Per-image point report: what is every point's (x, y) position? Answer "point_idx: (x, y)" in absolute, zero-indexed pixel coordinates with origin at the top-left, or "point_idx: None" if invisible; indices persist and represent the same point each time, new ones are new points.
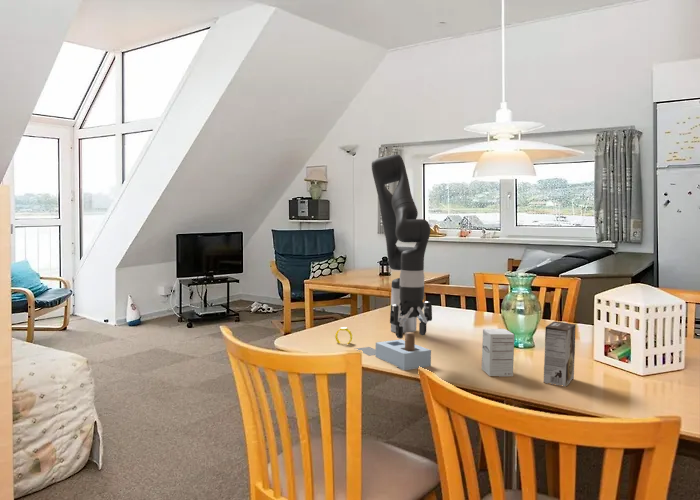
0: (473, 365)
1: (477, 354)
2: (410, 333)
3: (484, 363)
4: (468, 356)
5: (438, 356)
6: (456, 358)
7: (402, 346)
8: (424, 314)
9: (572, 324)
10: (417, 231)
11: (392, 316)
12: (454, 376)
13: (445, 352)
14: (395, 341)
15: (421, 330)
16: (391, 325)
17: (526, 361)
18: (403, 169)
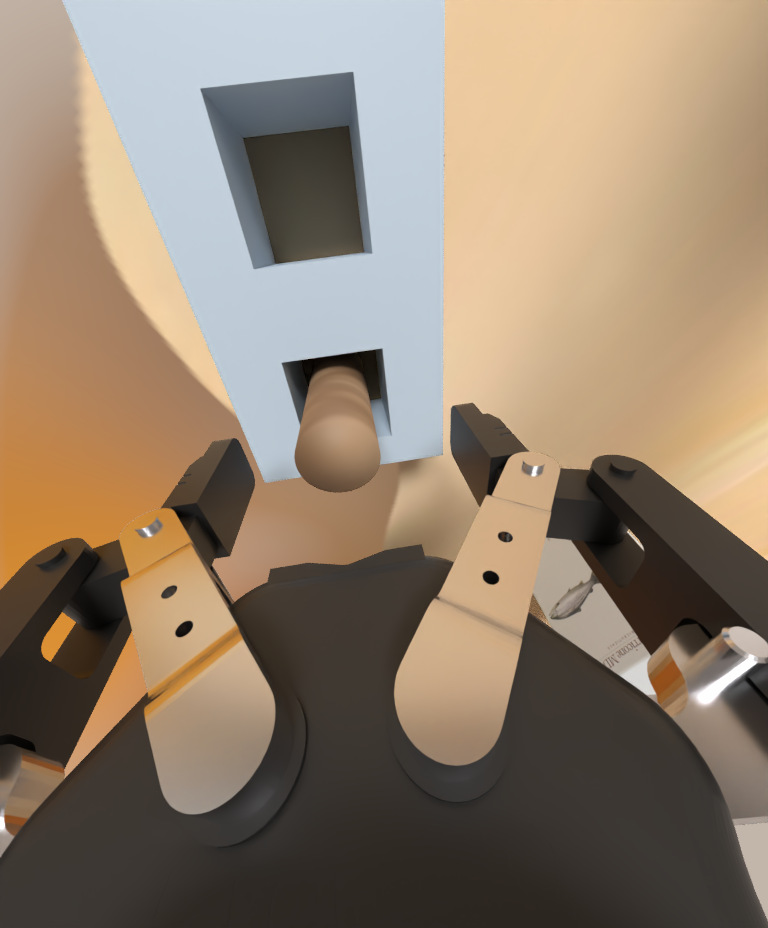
0: (574, 453)
1: (765, 307)
2: (338, 468)
3: (548, 543)
4: (696, 326)
5: (584, 260)
6: (619, 339)
7: (320, 317)
8: (625, 512)
9: None
10: None
11: (1, 651)
12: (422, 531)
13: (702, 176)
14: (330, 70)
15: (462, 449)
16: None
17: (756, 462)
18: None
